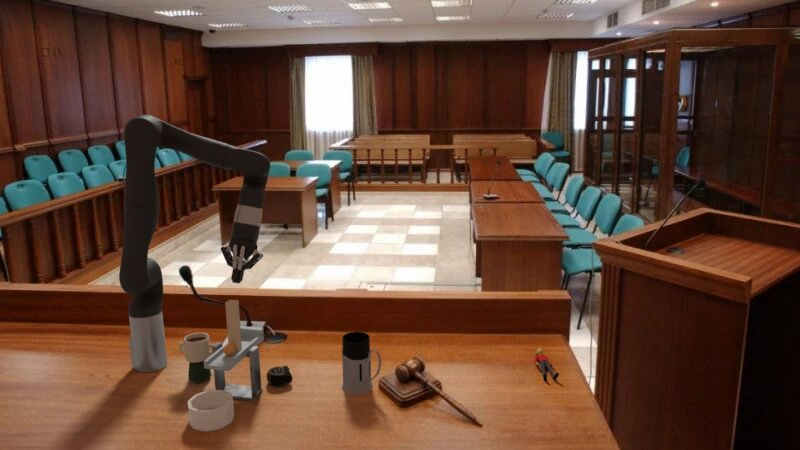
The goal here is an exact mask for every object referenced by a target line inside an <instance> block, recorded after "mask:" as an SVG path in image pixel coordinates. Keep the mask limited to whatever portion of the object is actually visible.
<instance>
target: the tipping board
mask: <svg viewBox="0 0 800 450" xmlns="http://www.w3.org/2000/svg"><path fill="white" fill-rule="evenodd" d="M224 304H225V305H224V306H225V317H226V329H227V331H226V332H227V340H228V341H227V342H225V344H222V347H221V348H220V349H218V350H217V351H216V352H215V353H213V354H212V355H210V357H209V358H207V359H206V360H205V361H204V368H205V369H210V370H213V371H214V370H222V371H224V372H230V371H231V370H233V368H234V367H235V366H237V365H238V364H239V363H240V362H241V361H242V360H243V359H245V358H249V350H250V349H251V348H252V347H253V346H258V347H259V345H260V344H261V343H262V342H263V341H265V334H264V333H265V331H264V328H263V327H255V326H254V327H253V326H246V325H245V326H244V325H241V320H240V319H241V318H240V317H241V316H240V305H239V304H240V302H239V299H232V298H231V299H228V300H227V301H226V302H225V303H224ZM227 344H232V345H233V346H234V347H235V352H234V353H233V354H232V355H230V356H228V355H226V354H224V351H223V349H224V347H225V346H226V345H227Z"/></svg>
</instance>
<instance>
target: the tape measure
mask: <svg viewBox="0 0 800 450" xmlns="http://www.w3.org/2000/svg"><path fill="white" fill-rule="evenodd" d="M266 380H267V382H268V383H269V384H270V386H276V387H277V386H278V387H279V386H285V385H287V384H291V383H292V382H293V376H292V373H291V372H290V367H289V366H288V365H283V366H274V367H271V368H269V369H268V370H267V372H266Z"/></svg>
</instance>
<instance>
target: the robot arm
mask: <svg viewBox="0 0 800 450" xmlns="http://www.w3.org/2000/svg"><path fill="white" fill-rule="evenodd" d="M123 140H124V141H123V142H124V150H125V151H124V152H125V153H124V154H125V162H126V163H125V164H126V166H125V168H126V171H125V180H124V194H123V233H122V234H123V235H122V253H121V260H120V265H119V266H120V267H119V272H118V273H119V274H118V280H119V285H120V287H121V289H122V290H123V292H125V294H127V295H129V296H132V297H131V300H130V302H129V303H128V306H127V311H128V319H129V329H130V336H131V337H129V339H128V344H129V345H128V346H129V355H130V360H131V361H130V363H131V368H132V369H134V370H136V371H137V372H140V373H153V372H156V371H160V370H162V369H163V368H165V367H166V366H168V355H167V345H166V344H167V343H166V336H165V325H164V318H163V315H164V314H163V307H162V305H163V302H164V283H163V282H164V281H163V280H164V279H163V273H162V269H161V267H160V265H159V264H158V262H157V261H156V260H155V259H153V258H150V257H149V248H150V246H151V245H150V244H151V241H152V239H153V236H154V234H155V231H156V228H157V225H158V222H159V218H160V217H159V216H160V192H159V188H158V187H159V186H158V182H157V177H156V173H155V172H156V171H155V169H156V168H155V166H156V164H155V163H156V154H157V149H158V148H163V149H167V150H168V149H169V150H173V151H176V152H179V153H182V154H185V155H187V156H189V157H191V158H193V159H194V160H197V161H200V162H201V163H204V164H207V165H209V166H210V165H211V166H214V167H217V168H220V169H224V170H227V171H231V170H232V171H236V172H239V173H241V174H243V179H242V180H243V181H242V186H241V188H240V192H239V196H238V201H237V205H236V209H235V213H234V218H233V222H232V223H233V224H232V229H231V238H230V240H229V241H228V244H227V245H226V246H221V247H220V251H221V253H222V255H223V258H224V261H225V262H226V264H227V266H228V267H231V269H232V273H231V278H230V280H231V282H232V283H233V284H241V282H242V281H243V280H244V279H243V278H244V275H245V271H246V270H251V269H252V268H253V267H254V266H255V265H256V264H257V263H258V262H259V261H261V260H262V258H263V257H264V254H263V253H261V252H260V251H259V250H258V244H257V242H258V240H259V236H260V230H261V225H262V219H263V208H264V203H265V198H266V197H265V196H266V187H267V183H268V179H269V175H270V170H271V162H270V161H271V160H270V158H268V156H266V154H263V153H261V152H258V151H254V150H251V149H245V148H241V147H237V146H234V145H231V144H228V143H227V142H226V143H225V142H222V141H218V140H216V139H212V138H209V137H205V136H202V135H198V134H195V133H191V132H190V131H186V130H183V129H181V128H179V127H177V126H174V125H171V124H170V123H167V122H166V121H163V120H161V119H159V118H157V117H155V116H153V115H150V114H139V115H138V116H135V117H133V118H131V119H130V120H129V121H128V122H127V123H126V125H125V127H124V130H123Z"/></svg>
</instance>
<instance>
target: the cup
mask: <svg viewBox="0 0 800 450" xmlns="http://www.w3.org/2000/svg"><path fill="white" fill-rule="evenodd" d="M234 407H235V405H234V399H233V398H232V394H231V393H229V392H227V391H224V390H215V389H209V390H204V391H202V392H198V393H196V394H193V396H192V397H191V398H189V399H188V400H187V409H188V421H189V426H190V427H191V429H193V430H194V431H197V432H202V433H203V432H205V433H206V432H214V431H218V430H221V429H223V428H226V427H228V426H230V424H231V423H233V421H234V419H235V408H234Z"/></svg>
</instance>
